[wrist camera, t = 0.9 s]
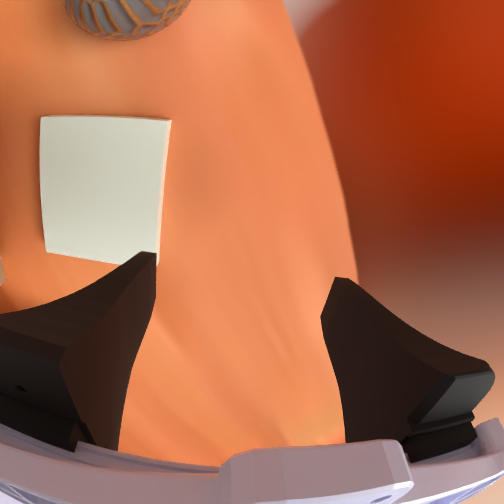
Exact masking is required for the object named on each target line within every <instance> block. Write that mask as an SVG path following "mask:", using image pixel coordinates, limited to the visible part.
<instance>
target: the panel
mask: <svg viewBox="0 0 504 504" xmlns="http://www.w3.org/2000/svg"><path fill="white" fill-rule="evenodd" d="M171 122H172V120H171V119H160V118H147V117H132V116H112V115H49V116H44V117H41V124H40V192H41V207H42V219H43V229H44V238H45V246H46V252H50V253H55V254H61V255H66V256H72V257H78V258H84V259H90V260H96V261H102V262H108V263H114V264H120V265H122V264H123V263H125V262H126V261H127V260H129V259H130V258H132V257H133V256H134V255H136V254H137V253H139V252H141V251H146V252H153V253H157V261H156V267H157V265H158V262H159V250H160V232H161V216H162V203H163V191H164V181H165V171H166V161H167V153H168V144H169V136H170V129H171Z"/></svg>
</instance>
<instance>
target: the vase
mask: <svg viewBox="0 0 504 504" xmlns="http://www.w3.org/2000/svg"><path fill="white" fill-rule="evenodd" d="M190 1H191V0H63V4H64V7H65V9H66V11H67V13H68V14H69V16H70V17H71V19H72V20H73V21H74V22H75V23H76V24H77V25H78V26H79V27H80V28H82V29H83V30H84V31H86V32H88V33H90V34H92V35H95V36H97V37H101V38H104V39H109V40H116V41H126V40H135V39H140V38H144V37H147V36H150V35H152V34H155V33H157V32H159V31H161V30H163V29H164V28H166V27H167V26H169V25H170V24H172V23H173V22H174V21H175V20H176V19H177V18H178V17H179V16H180V15H181V14H182V13H183V12H184V10H185V9H186V8H187V6H188V5H189V3H190Z"/></svg>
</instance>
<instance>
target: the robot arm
mask: <svg viewBox="0 0 504 504" xmlns="http://www.w3.org/2000/svg"><path fill="white" fill-rule="evenodd" d="M156 261H157V253H153V252H146V251H141V252H139V253H137V254H136V255H134V256H133V257H132V258H130V259H129V260H127V261H126V262H125V263H123V264H122V265H120V266H119V267H117V268H116V269H115V270H113V271H112V272H110V273H108V274H107V275H105V276H104V277H102V278H100V279H99V280H97V281H96V282H94V283H92V284H90V285H89V286H87V287H85V288H83V289H81V290H79V291H77V292H75V293H72V294H70V295H68V296H65V297H63V298H60V299H58V300H55V301H52V302H50V303H47V304H44V305H40V306H37V307H33V308H30V309H26V310H21V311H16V312H10V313H5V314H0V504H458V503H460V502H462V501H464V500H466V499H468V498H470V497H472V496H474V495H476V494H478V493H479V492H481V491H482V490H484V489H485V488H487V487H488V486H490V485H491V484H493V483H494V482H495V481H497V480H498V479H499V478H501V477H502V476H503V475H504V428H503V426H502V424H501V423H500V421H499V419H498V418H493V419H491V420H488V421H485V422H483V423H481V424H479V425H477V426H476V427H475V428H474V427H473V426H472V423H471V421H473V420H474V418H475V416H474V414H473V412H472V410H473V409H474V408H475V407H476V406H477V404H478V403H479V402H480V401H481V400H482V399H483V398H484V397H485V396H486V394H487V393H488V392H489V390H490V389H491V387H492V385H493V383H494V380H495V374H494V372H493V370H492V369H491V368H490V366H489V364H488V363H487V362H486V361H484V360H481V359H477V358H475V357H472V356H469V355H465V354H463V353H460V352H458V351H455V350H453V349H451V348H449V347H446V346H444V345H442V344H440V343H438V342H436V341H434V340H433V339H431V338H429V337H427V336H425V335H424V334H422V333H420V332H419V331H417V330H416V329H414V328H412V327H411V326H409V325H408V324H406V323H405V322H404V321H402V320H401V319H400V318H398V317H397V316H395V315H394V314H393V313H392V312H390V311H389V310H388V309H386V308H385V307H384V306H383V305H382V304H380V303H379V302H378V301H377V300H376V299H374V298H373V297H372V296H371V295H370V294H368V293H367V292H366V291H365V290H364V289H362V288H361V287H360V286H359V285H357V284H356V283H355V282H353V281H352V280H350V279H349V278H340V277H335V279H334V281H333V284H332V287H331V290H330V292H329V295H328V298H327V300H326V303H325V306H324V308H323V311H322V314H321V316H320V317H321V324H322V331H323V336H324V340H325V344H326V347H327V350H328V353H329V356H330V360H331V363H332V366H333V369H334V372H335V376H336V379H337V383H338V387H339V391H340V397H341V403H342V410H343V418H344V427H345V440H346V443H344V444H332V445H317V446H289V447H270V448H259V449H252V450H249V451H245V452H242V453H239V454H235V455H233V456H232V457H231V458H230V459H228V460H227V461H226V462H225V463H224V464H223V465H222V466H221V467H214V466H203V465H193V464H185V463H177V462H170V461H164V460H158V459H152V458H147V457H141V456H136V455H132V454H127V453H122V452H118V443H119V435H120V428H121V421H122V414H123V409H124V403H125V398H126V393H127V390H128V383H129V379H130V374H131V370H132V367H133V364H134V361H135V358H136V355H137V353H138V350H139V347H140V345H141V342H142V339H143V337H144V334H145V332H146V329H147V326H148V324H149V321H150V318H151V315H152V311H153V307H154V303H155V298H156Z"/></svg>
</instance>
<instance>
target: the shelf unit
mask: <svg viewBox="0 0 504 504" xmlns="http://www.w3.org/2000/svg"><path fill="white" fill-rule="evenodd" d="M5 281H6V277H5V273H4V269H3V264H2V260H1V255H0V286H1V285H2V284H3V283H4V282H5Z"/></svg>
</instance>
